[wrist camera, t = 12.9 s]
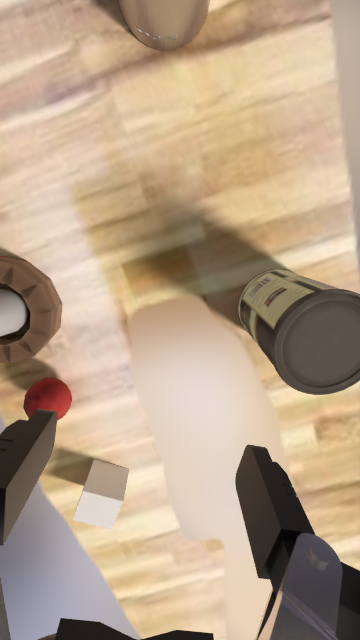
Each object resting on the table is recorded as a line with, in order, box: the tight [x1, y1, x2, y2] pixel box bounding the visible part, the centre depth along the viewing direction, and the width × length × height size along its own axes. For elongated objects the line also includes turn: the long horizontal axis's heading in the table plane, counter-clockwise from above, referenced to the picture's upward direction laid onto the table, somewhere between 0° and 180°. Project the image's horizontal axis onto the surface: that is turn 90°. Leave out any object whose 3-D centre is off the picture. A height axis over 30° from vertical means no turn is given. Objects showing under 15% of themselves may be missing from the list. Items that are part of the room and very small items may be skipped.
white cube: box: [73, 459, 129, 529], centre depth 45 cm, size 6×6×6 cm
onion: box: [23, 378, 72, 420], centre depth 38 cm, size 6×6×8 cm
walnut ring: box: [0, 256, 62, 364], centre depth 36 cm, size 13×13×4 cm
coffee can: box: [238, 269, 360, 395], centre depth 32 cm, size 10×10×14 cm
